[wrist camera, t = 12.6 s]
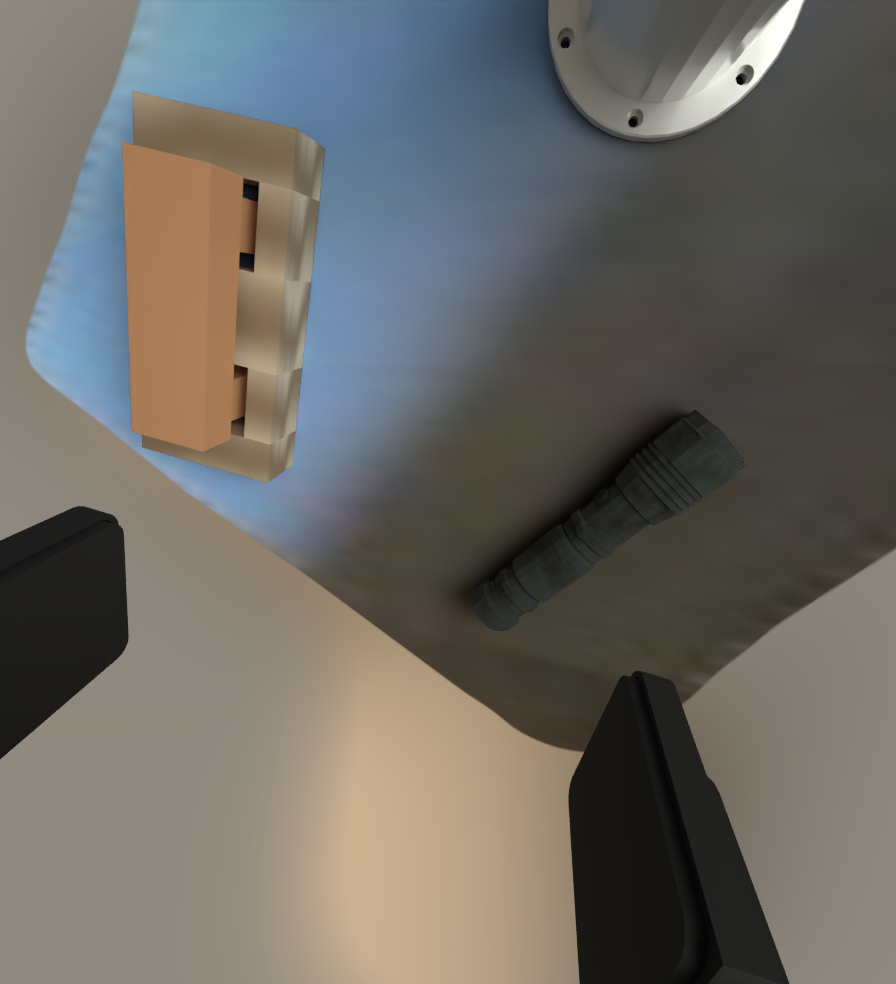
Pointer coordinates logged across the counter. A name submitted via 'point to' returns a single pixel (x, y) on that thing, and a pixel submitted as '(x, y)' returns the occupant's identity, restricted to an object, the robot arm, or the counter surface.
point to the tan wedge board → (184, 295)
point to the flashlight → (613, 518)
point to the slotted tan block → (254, 269)
